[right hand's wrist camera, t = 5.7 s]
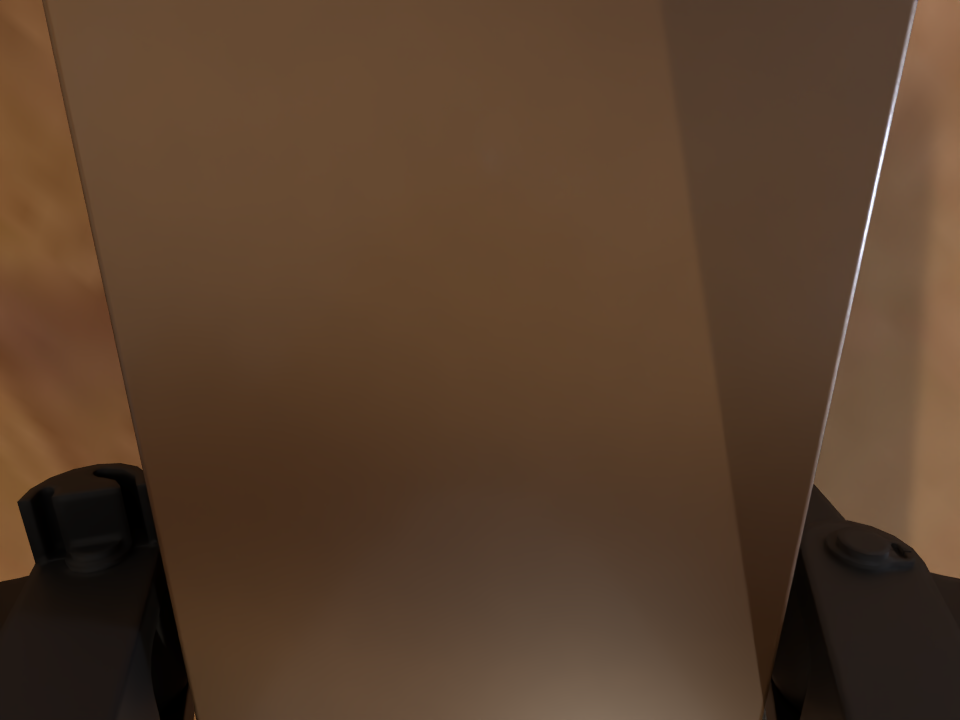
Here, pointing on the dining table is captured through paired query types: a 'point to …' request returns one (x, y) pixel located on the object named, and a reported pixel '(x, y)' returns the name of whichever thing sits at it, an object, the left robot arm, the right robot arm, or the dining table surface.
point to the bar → (479, 334)
